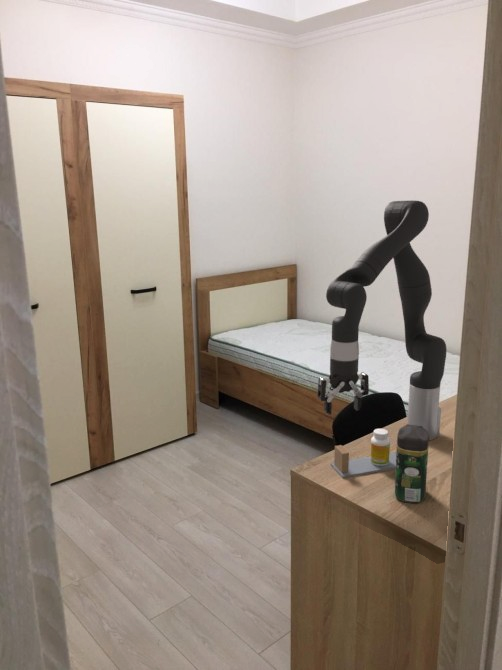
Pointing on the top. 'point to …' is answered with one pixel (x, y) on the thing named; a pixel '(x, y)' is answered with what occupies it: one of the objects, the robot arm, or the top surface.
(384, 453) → the supplement bottle
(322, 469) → the top surface
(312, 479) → the top surface
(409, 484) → the coffee jar
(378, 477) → the top surface
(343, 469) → the strip
